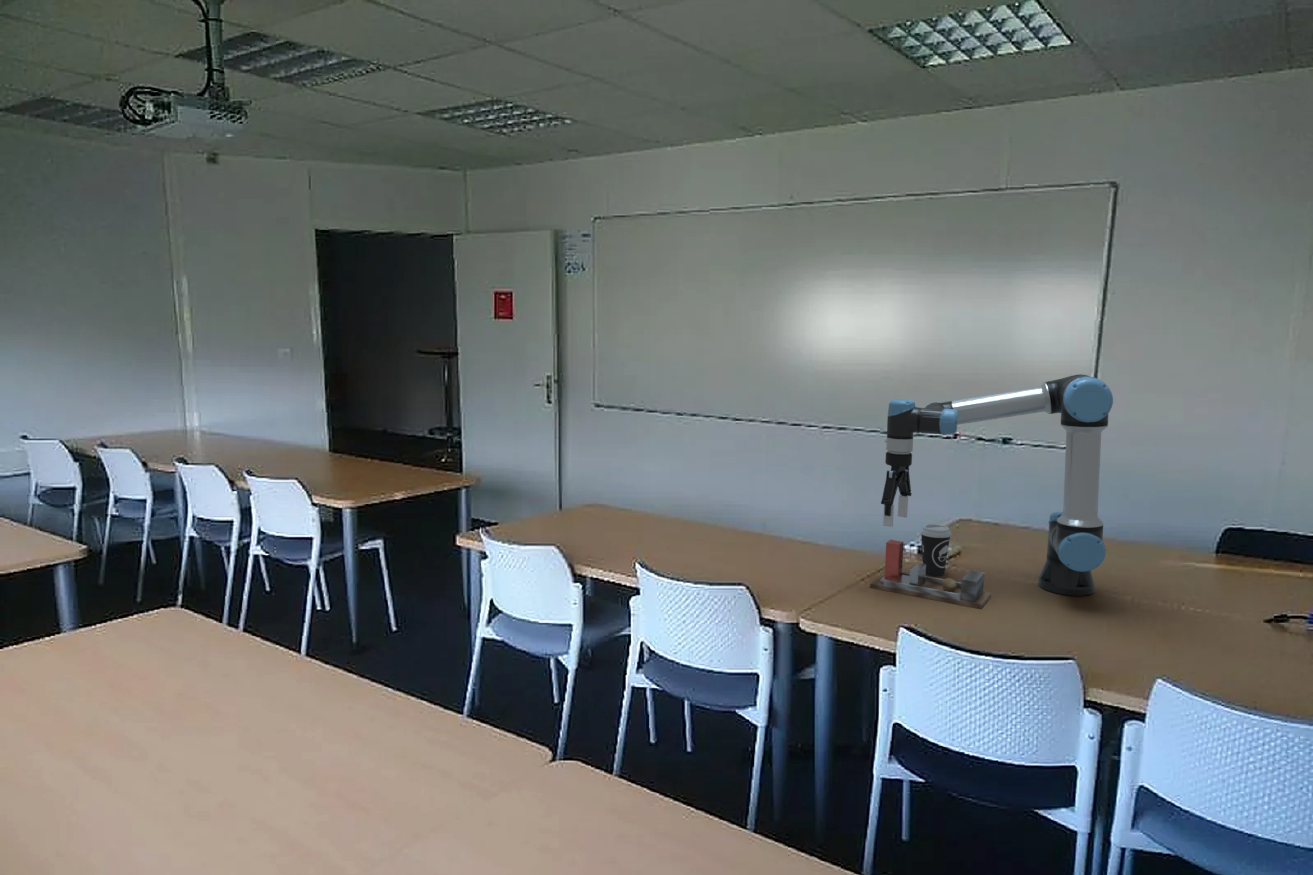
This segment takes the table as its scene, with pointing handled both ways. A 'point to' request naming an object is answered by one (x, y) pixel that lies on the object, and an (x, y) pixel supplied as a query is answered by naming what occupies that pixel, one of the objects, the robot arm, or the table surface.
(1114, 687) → the table surface
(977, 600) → the bench
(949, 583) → the nut
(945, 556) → the coffee cup
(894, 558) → the ram
